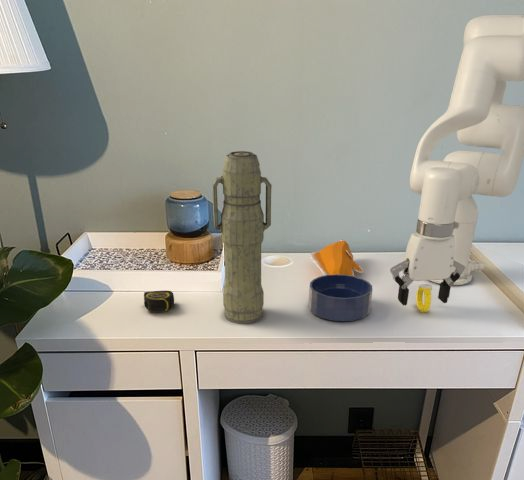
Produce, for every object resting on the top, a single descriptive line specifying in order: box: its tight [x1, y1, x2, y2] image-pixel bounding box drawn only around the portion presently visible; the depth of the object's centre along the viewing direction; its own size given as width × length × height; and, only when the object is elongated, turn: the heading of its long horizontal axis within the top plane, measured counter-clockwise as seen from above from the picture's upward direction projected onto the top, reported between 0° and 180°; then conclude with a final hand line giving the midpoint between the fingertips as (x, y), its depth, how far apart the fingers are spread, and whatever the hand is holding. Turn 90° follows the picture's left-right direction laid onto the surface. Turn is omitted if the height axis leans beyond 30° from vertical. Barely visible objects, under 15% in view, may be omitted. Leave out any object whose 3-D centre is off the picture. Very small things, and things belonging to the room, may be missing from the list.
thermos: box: [211, 150, 273, 325], centre depth 117 cm, size 9×12×35 cm
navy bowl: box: [308, 274, 373, 322], centre depth 127 cm, size 14×14×6 cm
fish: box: [309, 239, 365, 277], centre depth 144 cm, size 7×27×15 cm
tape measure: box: [143, 290, 175, 313], centre depth 127 cm, size 7×7×4 cm
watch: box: [416, 283, 433, 313], centre depth 127 cm, size 6×3×6 cm, turn 3°
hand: (422, 301), depth 127 cm, fingers open, 9 cm apart
